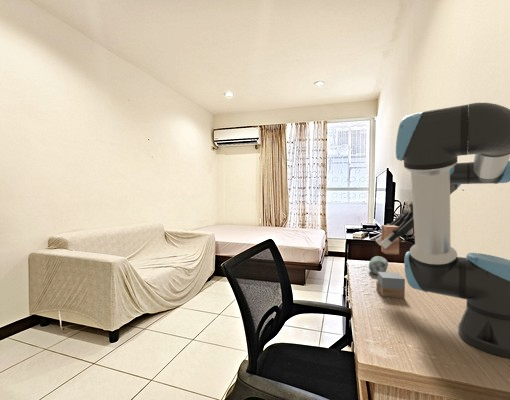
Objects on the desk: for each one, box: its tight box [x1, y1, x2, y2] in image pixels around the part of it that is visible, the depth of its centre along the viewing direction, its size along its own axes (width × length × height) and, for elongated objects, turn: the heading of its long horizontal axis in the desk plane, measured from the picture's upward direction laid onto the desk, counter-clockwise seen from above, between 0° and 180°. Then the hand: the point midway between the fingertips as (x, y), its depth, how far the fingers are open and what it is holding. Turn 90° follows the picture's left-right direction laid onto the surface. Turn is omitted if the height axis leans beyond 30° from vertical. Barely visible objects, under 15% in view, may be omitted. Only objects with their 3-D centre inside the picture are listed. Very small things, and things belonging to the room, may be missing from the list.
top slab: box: [377, 271, 406, 290], centre depth 105 cm, size 8×8×4 cm
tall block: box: [380, 224, 400, 255], centre depth 105 cm, size 5×5×11 cm
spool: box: [368, 255, 389, 276], centre depth 133 cm, size 14×10×10 cm
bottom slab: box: [375, 280, 406, 299], centre depth 105 cm, size 8×8×4 cm
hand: (380, 244), depth 106 cm, fingers closed on tall block, 5 cm apart
